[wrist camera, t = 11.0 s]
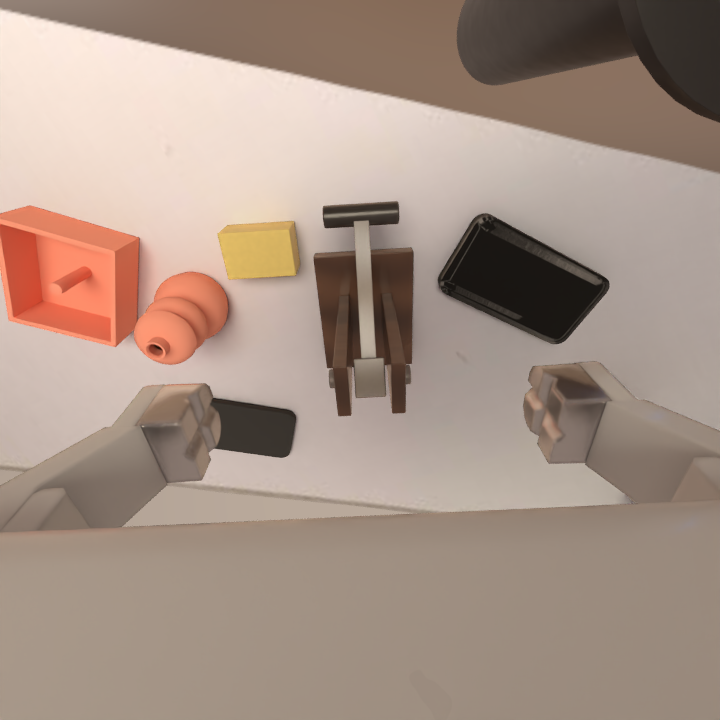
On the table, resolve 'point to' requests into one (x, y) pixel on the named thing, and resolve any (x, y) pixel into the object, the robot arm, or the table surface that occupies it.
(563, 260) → the phone
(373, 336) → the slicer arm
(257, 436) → the phone
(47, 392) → the table surface
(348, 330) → the brown wooden frame
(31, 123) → the table surface
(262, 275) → the butter block
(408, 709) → the robot arm
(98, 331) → the pottery
